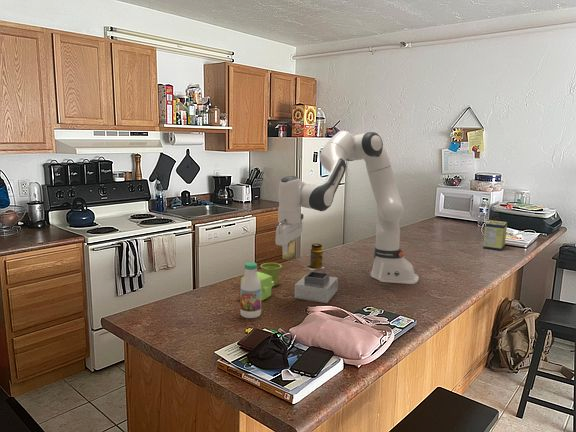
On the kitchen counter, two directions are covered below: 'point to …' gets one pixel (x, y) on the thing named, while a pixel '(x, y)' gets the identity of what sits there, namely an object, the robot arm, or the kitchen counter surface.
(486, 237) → the protein box
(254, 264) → the milk bottle
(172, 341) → the kitchen counter surface
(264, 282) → the green teapot
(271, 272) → the plant pot
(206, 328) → the kitchen counter surface
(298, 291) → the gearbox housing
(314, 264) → the condiment
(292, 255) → the tan cylinder
